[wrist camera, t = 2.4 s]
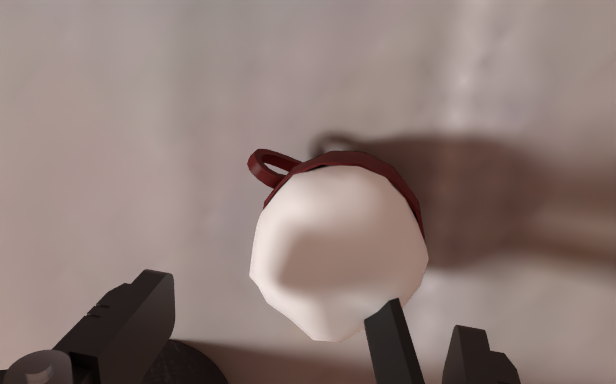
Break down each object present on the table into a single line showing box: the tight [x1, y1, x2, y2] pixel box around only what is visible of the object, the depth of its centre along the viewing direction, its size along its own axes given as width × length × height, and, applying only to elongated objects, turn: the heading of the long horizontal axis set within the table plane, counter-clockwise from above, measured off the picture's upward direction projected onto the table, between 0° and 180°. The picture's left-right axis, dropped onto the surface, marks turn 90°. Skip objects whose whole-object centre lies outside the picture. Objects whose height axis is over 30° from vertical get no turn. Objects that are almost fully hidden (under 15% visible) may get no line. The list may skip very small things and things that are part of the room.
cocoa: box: [247, 149, 429, 384], centre depth 16 cm, size 10×6×12 cm, turn 29°
